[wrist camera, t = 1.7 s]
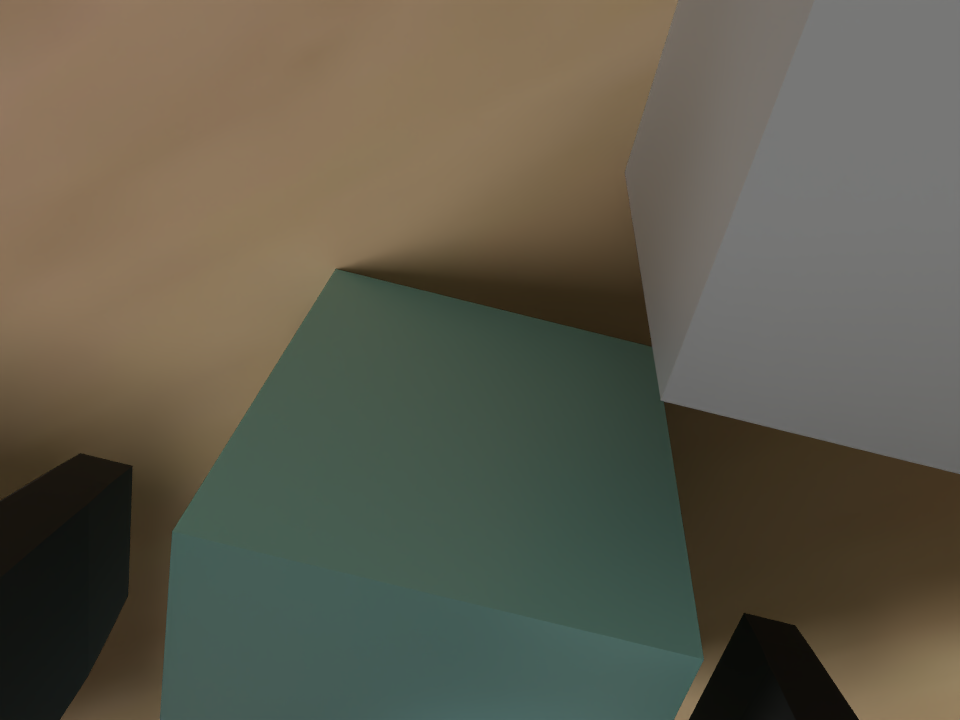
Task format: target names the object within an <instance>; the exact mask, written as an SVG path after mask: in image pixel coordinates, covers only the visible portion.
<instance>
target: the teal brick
mask: <svg viewBox="0 0 960 720" xmlns="http://www.w3.org/2000/svg"><path fill="white" fill-rule="evenodd" d="M703 660H704V657H703V651H702V644H701V638H700V631H699V625H698V619H697V612H696V606H695V599H694V593H693V586H692V580H691V574H690V567H689V561H688V554H687V548H686V541H685V535H684V529H683V522H682V516H681V509H680V503H679V496H678V490H677V483H676V477H675V471H674V464H673V458H672V451H671V445H670V438H669V432H668V426H667V419H666V413H665V406H664V401H661V399H660V393H659V386H658V380H657V374H656V367H655V361H654V355H653V348H652V347H650V346H646V345H642V344H638V343H634V342H630V341H626V340H622V339H618V338H614V337H610V336H606V335H602V334H598V333H594V332H590V331H586V330H582V329H577V328H573V327H569V326H565V325H561V324H557V323H553V322H549V321H545V320H541V319H537V318H533V317H529V316H525V315H521V314H517V313H513V312H509V311H505V310H501V309H496V308H492V307H488V306H484V305H480V304H476V303H472V302H468V301H464V300H460V299H456V298H452V297H448V296H444V295H440V294H436V293H432V292H428V291H424V290H419V289H415V288H411V287H407V286H403V285H399V284H395V283H391V282H387V281H383V280H379V279H375V278H371V277H367V276H363V275H359V274H355V273H351V272H347V271H342V270H338V269H335V271H334V273H333V274H332V276H331V277H330V279H329V281H328V282H327V284H326V285H325V287H324V289H323V290H322V292H321V294H320V295H319V297H318V298H317V300H316V302H315V303H314V305H313V306H312V308H311V310H310V311H309V313H308V314H307V316H306V318H305V319H304V321H303V322H302V324H301V326H300V327H299V329H298V330H297V332H296V334H295V335H294V337H293V338H292V340H291V342H290V343H289V345H288V346H287V348H286V350H285V351H284V353H283V355H282V356H281V358H280V359H279V361H278V363H277V364H276V366H275V367H274V369H273V371H272V372H271V374H270V375H269V377H268V379H267V380H266V382H265V383H264V385H263V387H262V388H261V390H260V391H259V393H258V395H257V396H256V398H255V399H254V401H253V403H252V404H251V406H250V408H249V409H248V411H247V412H246V414H245V416H244V417H243V419H242V420H241V422H240V424H239V425H238V427H237V428H236V430H235V432H234V433H233V435H232V436H231V438H230V440H229V441H228V443H227V444H226V446H225V448H224V449H223V451H222V452H221V454H220V456H219V457H218V459H217V460H216V462H215V464H214V465H213V467H212V469H211V470H210V472H209V473H208V475H207V477H206V478H205V480H204V481H203V483H202V485H201V486H200V488H199V489H198V491H197V493H196V494H195V496H194V497H193V499H192V501H191V502H190V504H189V505H188V507H187V509H186V510H185V512H184V513H183V515H182V517H181V518H180V520H179V521H178V523H177V525H176V526H175V528H174V530H173V531H172V543H171V558H170V573H169V589H168V604H167V619H166V634H165V650H164V665H163V680H162V695H161V711H160V720H674V718H675V716H676V714H677V712H678V710H679V708H680V706H681V704H682V702H683V700H684V698H685V696H686V694H687V692H688V690H689V688H690V686H691V684H692V682H693V680H694V678H695V676H696V674H697V672H698V670H699V668H700V666H701V664H702V662H703Z"/></svg>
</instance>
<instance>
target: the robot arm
mask: <svg viewBox="0 0 960 720" xmlns="http://www.w3.org/2000/svg"><path fill="white" fill-rule="evenodd" d="M132 467H133V466H131V465H126V464H122V463H118V462H114V461H110V460H106V459H102V458H97V457H93V456H89V455H85V454H81V453H80V454H78V455H77V456H75V457H73V458H71V459H70V460H68V461H66V462H64V463H63V464H61V465H59V466H57V467H56V468H54V469H52V470H51V471H49V472H47V473H46V474H44V475H42V476H40V477H39V478H37V479H35V480H34V481H32V482H30V483H29V484H27V485H25V486H24V487H22V488H21V489H19V490H17V491H16V492H14V493H12V494H11V495H9V496H7V497H6V498H4V499H2V500H1V501H0V720H60V719H61V717H62V716H63V714H64V713H65V711H66V709H67V708H68V706H69V705H70V703H71V702H72V700H73V699H74V697H75V696H76V694H77V692H78V691H79V689H80V688H81V686H82V685H83V683H84V681H85V680H86V678H87V677H88V675H89V673H90V671H91V669H92V667H93V665H94V663H95V661H96V660H97V658H98V656H99V654H100V652H101V650H102V648H103V646H104V644H105V642H106V640H107V638H108V636H109V634H110V632H111V630H112V628H113V626H114V624H115V622H116V619H117V617H118V615H119V613H120V611H121V609H122V607H123V605H124V603H125V601H126V599H127V597H128V586H129V556H130V526H131V496H132ZM689 720H859V719H858V717H857V716H856V714H855V713H854V712H853V710H852V709H851V707H850V706H849V704H848V703H847V701H846V700H845V698H844V697H843V695H842V694H841V692H840V691H839V689H838V688H837V686H836V685H835V683H834V682H833V680H832V679H831V677H830V676H829V674H828V673H827V671H826V670H825V668H824V667H823V665H822V664H821V662H820V661H819V659H818V658H817V656H816V655H815V653H814V652H813V650H812V649H811V647H810V646H809V644H808V643H807V642H806V640H805V639H804V637H803V636H802V634H801V633H800V632H799V630H798V629H797V627H796V626H795V625H791V624H787V623H783V622H779V621H775V620H771V619H767V618H762V617H758V616H754V615H750V614H746V613H744V614H743V616H742V618H741V620H740V622H739V624H738V626H737V628H736V629H735V631H734V633H733V635H732V637H731V639H730V641H729V643H728V645H727V647H726V649H725V651H724V653H723V655H722V657H721V659H720V661H719V662H718V664H717V666H716V668H715V670H714V672H713V674H712V676H711V678H710V680H709V682H708V684H707V686H706V688H705V690H704V692H703V694H702V695H701V697H700V699H699V701H698V703H697V705H696V707H695V709H694V711H693V713H692V715H691V717H690V719H689Z"/></svg>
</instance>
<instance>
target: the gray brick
mask: <svg viewBox="0 0 960 720" xmlns="http://www.w3.org/2000/svg"><path fill="white" fill-rule="evenodd" d="M625 177H626V183H627V190H628V196H629V202H630V209H631V215H632V221H633V228H634V234H635V240H636V247H637V253H638V259H639V266H640V272H641V279H642V285H643V291H644V298H645V304H646V310H647V317H648V323H649V329H650V336H651V342H652V348H653V355H654V361H655V367H656V374H657V380H658V386H659V393H660V399H661V401H664V402H668V403H673V404H677V405H681V406H685V407H689V408H693V409H697V410H701V411H705V412H709V413H713V414H717V415H721V416H725V417H730V418H734V419H738V420H742V421H746V422H750V423H754V424H758V425H762V426H766V427H770V428H774V429H778V430H782V431H786V432H791V433H795V434H799V435H803V436H807V437H811V438H815V439H819V440H823V441H827V442H831V443H835V444H839V445H843V446H848V447H852V448H856V449H860V450H864V451H868V452H872V453H876V454H880V455H884V456H888V457H892V458H896V459H900V460H904V461H909V462H913V463H917V464H921V465H925V466H929V467H933V468H937V469H941V470H945V471H949V472H953V473H957V474H960V0H679V1H678V4H677V7H676V10H675V13H674V17H673V20H672V23H671V26H670V29H669V32H668V36H667V39H666V42H665V45H664V48H663V52H662V55H661V58H660V61H659V64H658V68H657V71H656V74H655V77H654V80H653V83H652V87H651V90H650V93H649V96H648V99H647V103H646V106H645V109H644V112H643V115H642V119H641V122H640V125H639V128H638V131H637V134H636V138H635V141H634V144H633V147H632V150H631V154H630V157H629V160H628V163H627V166H626V170H625Z"/></svg>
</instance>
